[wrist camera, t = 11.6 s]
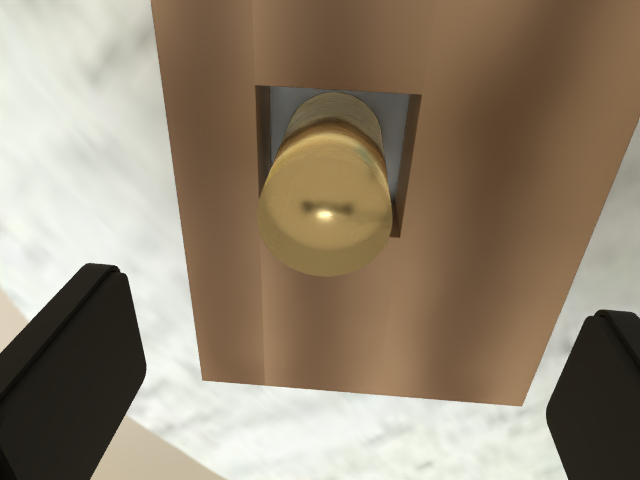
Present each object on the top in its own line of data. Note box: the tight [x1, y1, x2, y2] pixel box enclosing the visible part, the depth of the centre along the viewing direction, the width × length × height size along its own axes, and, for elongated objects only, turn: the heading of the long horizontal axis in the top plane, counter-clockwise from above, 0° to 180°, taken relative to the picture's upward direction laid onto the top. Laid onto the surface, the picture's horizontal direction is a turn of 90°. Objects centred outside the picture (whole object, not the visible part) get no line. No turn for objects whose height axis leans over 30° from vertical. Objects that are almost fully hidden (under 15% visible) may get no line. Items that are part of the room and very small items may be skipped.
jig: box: [151, 0, 640, 406], centre depth 20 cm, size 16×18×3 cm
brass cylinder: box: [256, 92, 392, 277], centre depth 17 cm, size 4×4×7 cm
